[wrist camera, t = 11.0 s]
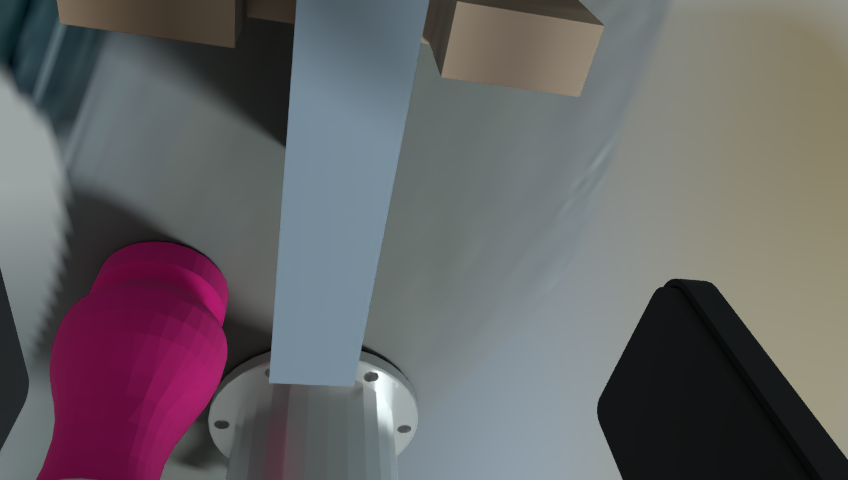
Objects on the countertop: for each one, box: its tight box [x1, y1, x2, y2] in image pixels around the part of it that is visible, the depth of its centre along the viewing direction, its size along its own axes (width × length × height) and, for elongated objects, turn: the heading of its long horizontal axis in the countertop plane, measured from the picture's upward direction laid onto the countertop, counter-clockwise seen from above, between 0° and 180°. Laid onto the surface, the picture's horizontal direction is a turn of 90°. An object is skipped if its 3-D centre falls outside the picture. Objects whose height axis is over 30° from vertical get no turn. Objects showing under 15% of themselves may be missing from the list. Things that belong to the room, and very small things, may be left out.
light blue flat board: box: [269, 0, 429, 387], centre depth 18 cm, size 16×2×13 cm, turn 169°
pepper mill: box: [36, 241, 228, 480], centre depth 24 cm, size 7×7×20 cm
